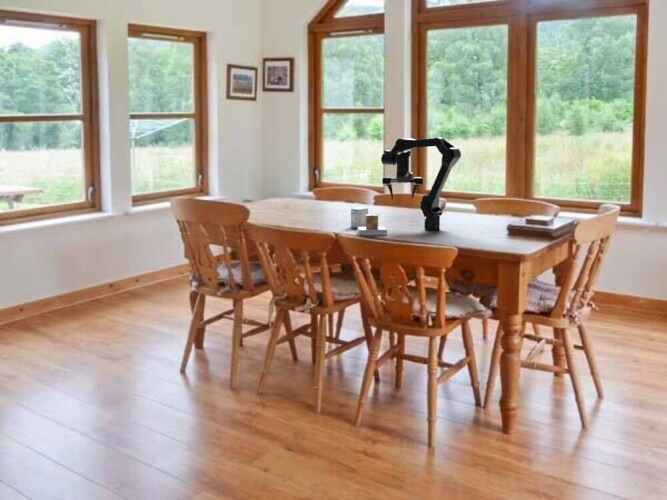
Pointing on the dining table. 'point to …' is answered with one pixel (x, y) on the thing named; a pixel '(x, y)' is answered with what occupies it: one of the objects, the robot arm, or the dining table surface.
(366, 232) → the book
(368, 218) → the walnut block
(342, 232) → the dining table surface
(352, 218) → the medicine box
